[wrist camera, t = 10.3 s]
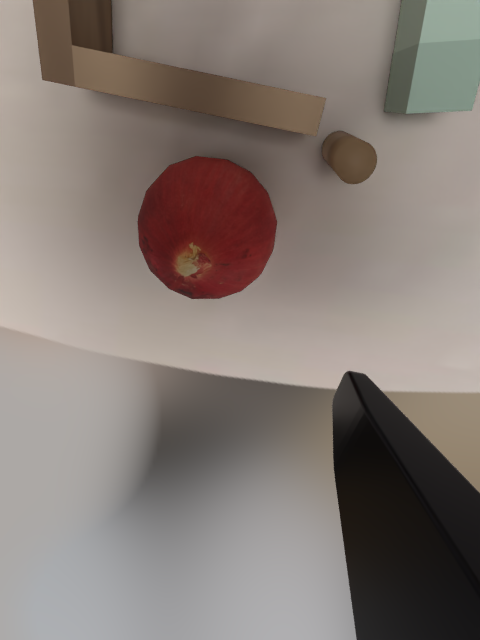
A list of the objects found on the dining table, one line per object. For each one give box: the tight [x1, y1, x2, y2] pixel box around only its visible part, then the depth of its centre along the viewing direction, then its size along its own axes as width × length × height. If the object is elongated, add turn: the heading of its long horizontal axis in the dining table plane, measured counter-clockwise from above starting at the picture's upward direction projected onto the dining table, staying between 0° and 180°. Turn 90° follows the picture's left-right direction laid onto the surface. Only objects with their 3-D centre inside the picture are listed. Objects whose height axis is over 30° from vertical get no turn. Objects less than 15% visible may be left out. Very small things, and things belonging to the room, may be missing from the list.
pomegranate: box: [138, 156, 277, 299], centre depth 14 cm, size 6×6×8 cm
